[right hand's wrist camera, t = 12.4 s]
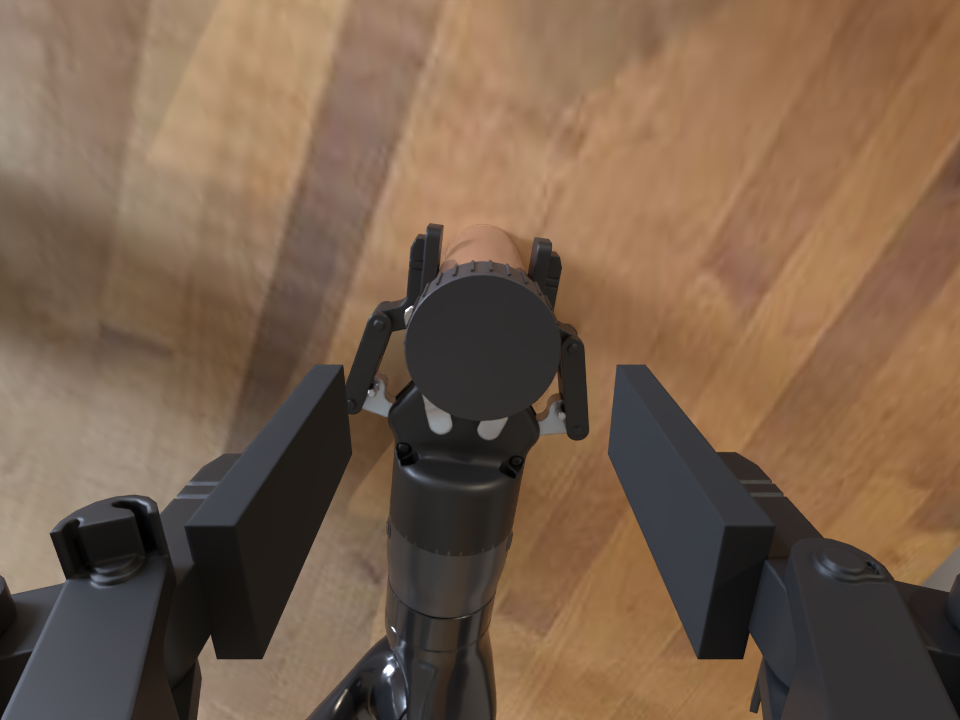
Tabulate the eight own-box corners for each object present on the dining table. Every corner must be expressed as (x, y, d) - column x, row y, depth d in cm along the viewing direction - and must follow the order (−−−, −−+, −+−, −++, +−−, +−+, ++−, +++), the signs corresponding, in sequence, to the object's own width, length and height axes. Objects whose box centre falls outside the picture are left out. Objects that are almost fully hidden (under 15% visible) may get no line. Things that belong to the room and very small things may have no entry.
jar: (439, 229, 32) (404, 290, 17) (515, 219, 32) (543, 272, 17) (451, 302, 34) (427, 414, 19) (522, 293, 34) (554, 399, 19)
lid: (398, 268, 19) (387, 283, 17) (548, 249, 19) (556, 261, 17) (423, 402, 21) (416, 431, 19) (559, 387, 21) (568, 413, 19)
